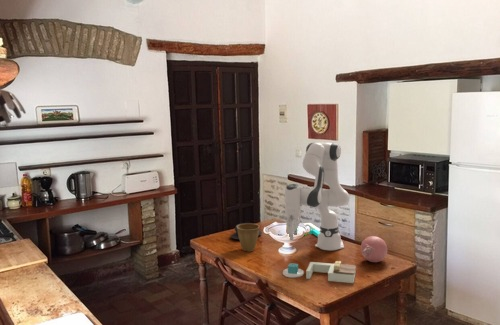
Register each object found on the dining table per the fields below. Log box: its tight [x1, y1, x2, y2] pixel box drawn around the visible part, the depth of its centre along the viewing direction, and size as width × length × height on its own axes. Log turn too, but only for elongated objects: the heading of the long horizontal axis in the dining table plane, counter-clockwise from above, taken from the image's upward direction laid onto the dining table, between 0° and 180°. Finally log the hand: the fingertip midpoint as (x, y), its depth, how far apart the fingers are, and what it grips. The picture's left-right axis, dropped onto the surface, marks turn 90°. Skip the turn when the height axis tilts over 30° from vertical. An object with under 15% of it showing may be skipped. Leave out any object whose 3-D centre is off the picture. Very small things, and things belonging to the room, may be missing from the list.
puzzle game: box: [303, 222, 320, 238], centre depth 328 cm, size 30×3×30 cm
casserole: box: [229, 222, 263, 240], centre depth 324 cm, size 25×19×8 cm
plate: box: [282, 268, 305, 279], centre depth 255 cm, size 12×12×1 cm
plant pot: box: [237, 223, 260, 252], centre depth 296 cm, size 15×15×16 cm
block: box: [287, 262, 299, 274], centre depth 254 cm, size 5×5×4 cm
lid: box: [333, 260, 357, 275], centre depth 245 cm, size 11×11×3 cm
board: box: [305, 261, 357, 284], centre depth 249 cm, size 14×26×4 cm, turn 72°
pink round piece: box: [360, 235, 388, 263], centre depth 266 cm, size 15×20×15 cm
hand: (293, 237), depth 253 cm, fingers open, 8 cm apart
